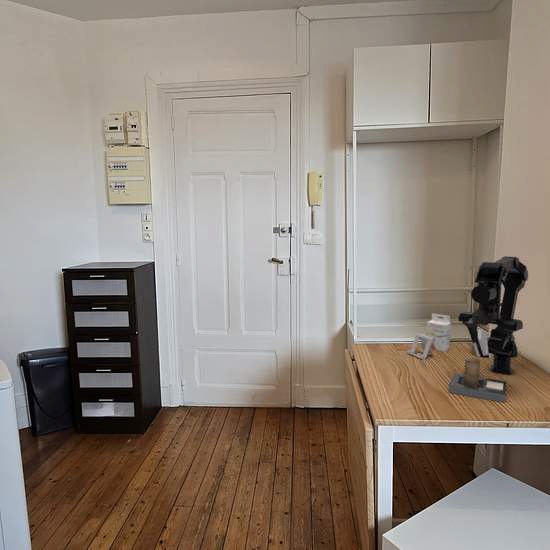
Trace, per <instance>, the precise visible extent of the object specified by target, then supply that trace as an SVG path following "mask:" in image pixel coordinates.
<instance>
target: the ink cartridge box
mask: <svg viewBox="0 0 550 550" xmlns="http://www.w3.org/2000/svg"><path fill="white" fill-rule="evenodd" d="M426 324H427V325H426V336H429V337H432V338H435V339H436V341H435V343H431V345H430V347H431V350H436V351H439V352H447V351H448V350H450V345H451V344H450V338H451V316H450V315H446V314H439V313H434V312H433V313H431V320H428V321H427V322H426Z"/></svg>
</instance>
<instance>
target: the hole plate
mask: <svg viewBox="0 0 550 550" xmlns="http://www.w3.org/2000/svg"><path fill="white" fill-rule="evenodd" d="M448 392H449V394H455V395H461V396H466V397H472V398H476V399H477V398H478V399H482V400H487V401H494V402H499V403H506V396H507V395H506V393H507V380H506V381H505V380H500V379H492V378H487V377H481V376H479V388H477V387H471V386H466V385H464V374H461V373H456V372H454V373H453V374H452V377H451V379H450V382H449V384H448Z"/></svg>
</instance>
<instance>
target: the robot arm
mask: <svg viewBox="0 0 550 550" xmlns="http://www.w3.org/2000/svg"><path fill="white" fill-rule="evenodd" d="M528 279H529V271H528V267H527V266H526V265H525V264H524V263H522V262H521V260H520V258H519V257H517V256H506V255H505V256H503V257H501V258H500V259H498V260H495V261H494V262H492V261H488V262H487V261H483V262H482V263H481V264H480V265H479V267H478V270H477V273H476V277H475V280H474V283H476V284H478V285H477V286H474V287H473V288H472V290H471V292H470V293H471V294H470V296H471V298H472V300H473V301H474V302H475V303H477V304H478V307H477V309H475V310H474V311H473V312H471V311H465V312H460V313H458V319H457V321H458V322H461V324H462V325H464V326H465V327H466V328H467V329H468V330H467V331H468V332H469V337H470V338H471V342H472V344H473V343H475V341H476V335H477V331H478V325H481V326H484V327H485V326H488V325H496V326H495V328H492V329H491V330H490V336H489V337H488V338H487V341H488V342H487V345H488V353H491V355H493V360H492V365H491V368H490V371H491V372H494V373H500V374H507V375H508V374H509V375H512V372H513V371H512V369H513V368H512V359H515V358H518V356H519V355H518V352H519V351H518V346H517V343H516V341H515V339H516V336H515V335H514V333H515V332H517V331H519V330H522V329H523V328H524V326H523V325H524V323H523V321H522V319H516V318H514V317H515V312H516V307H517V303H518V302H517V301H518V296H519V292H520V291H521V290H522V289H523V288H525V285H526V282H527V281H528ZM502 286H503V288H504V289H503V295H502ZM501 296H502V297H501ZM501 298H502V301H501Z"/></svg>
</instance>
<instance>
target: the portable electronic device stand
mask: <svg viewBox="0 0 550 550" xmlns="http://www.w3.org/2000/svg"><path fill="white" fill-rule="evenodd" d="M419 341H420V344H421V346H422V350H423V353H420V352H417V353H415V351H416V348H417V346H418V343H419ZM435 341H436V339H435V338H432V337H429V336H427V334H426V335H425V334H422V333H421V332H418V333H416V334H415V337H414V341H413V343H412V346H411V349H409V348H407V351H406V352H407V354H408V355H410V356H413V357H414V358H415V357H416V358H418V359H420V360H422V361H426V359H427V357H428V354H429V355H430V356H432V357H434V354H433V349H431V347H430V345H431V343H435Z"/></svg>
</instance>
